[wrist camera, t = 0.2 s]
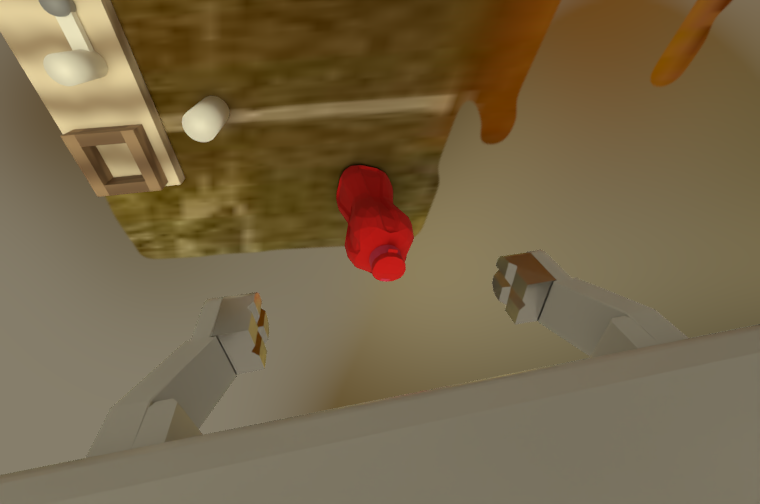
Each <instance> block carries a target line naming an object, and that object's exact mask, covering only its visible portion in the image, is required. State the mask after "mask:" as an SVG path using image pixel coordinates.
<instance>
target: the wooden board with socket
mask: <svg viewBox="0 0 760 504" xmlns="http://www.w3.org/2000/svg"><path fill="white" fill-rule="evenodd" d="M73 2H74V4H75V6H76V14H77V16H78V18H79V20H80V22H81V24H82V26H83V28H84V31H85V33H86V35H87V37H88V39H89V41H90V43H91V45H92V47H93V49H94V51H95V52H97V53H98V54H100V55H101V56H102V57H103V59H104V60H105V62H106V64H107V67H108V71H107V74H106V75H105V76H104V77H102V78H98V79H95V80H92V81H88V82H85V83H81V84H78V85H75V86H64V85H61V84H59V83H57V82H56V81H54V80H53V79H52V78H51V77H50V76H49V75H48V74H47V72H46V71H45V69H44V65H43V60H44V58H45V56H46V55H48V54H52V53H59V52H65V51H72V48H71V46H70V44H69V42H68V40H67V38H66V37H65V35H64V33H63V31H62V29H61V27H60V25H59V23H58V21H57V19H56V17H55V16H53V15H51V14H49V13H48V12H46V11H45V10H44V9H43V7H42V6H41V5H40V3H39V0H0V32H1V33H2V35H3V36H4V38H5V40H6V42H7V43H8V45H9V46H10V48H11V50H12V51H13V53H14V54H15V56H16V58H17V60H18V61H19V63H20V64H21V66H22V68H23V69H24V71H25V73H26V74H27V76H28V78H29V79H30V81H31V82H32V84H33V86H34V88H35V89H36V91H37V92H38V94H39V95H40V97H41V99H42V101H43V102H44V104H45V106H46V107H47V109H48V110H49V112H50V114H51V116H52V117H53V119H54V120H55V122H56V124H57V125H58V127H59V129H60V130H61V132H62V134H63V135H61V138H62V139H63V141H64V143H65V144H66V146H67V148H68V149H69V151H70V152H71V154H72V156H73V157H74V159H75V161H76V162H77V164H78V165H79V167H80V169H81V170H82V172H83V174H84V175H85V177H86V178H87V180H88V182H89V183H90V185H91V187H92V188H93V190H94V191H95V193H96V195H97V196H98V197H100V196H110V195H119V194H129V193H138V192H148V191H158V190H162V189H163V188H164V187H165V186H170V185H179V184H181V183H182V182H183V181H184V179H185V177H184V175H183V172H182V170H181V167H180V165H179V163H178V160H177V158H176V156H175V153H174V151H173V148H172V146H171V144H170V141H169V139H168V136H167V134H166V132H165V129H164V127H163V125H162V122H161V120H160V117H159V115H158V113H157V110H156V108H155V106H154V103H153V101H152V98H151V96H150V94H149V91H148V89H147V86H146V84H145V82H144V79H143V77H142V75H141V72H140V70H139V67H138V65H137V63H136V60H135V58H134V56H133V53H132V51H131V48H130V46H129V44H128V41H127V39H126V37H125V34H124V32H123V29H122V27H121V25H120V22H119V20H118V17H117V15H116V13H115V10H114V8H113V6H112V3H111V1H110V0H73Z"/></svg>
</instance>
